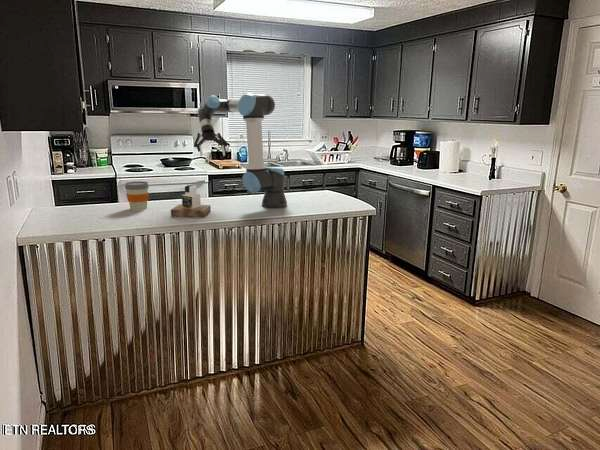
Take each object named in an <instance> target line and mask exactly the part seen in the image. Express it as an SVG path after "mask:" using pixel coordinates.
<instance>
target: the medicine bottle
mask: <svg viewBox="0 0 600 450" xmlns="http://www.w3.org/2000/svg"><path fill="white" fill-rule="evenodd" d="M197 190H198V189H197V186H196V185H194V184H192V185H191V184H189V185H188V184H187V185H186V186H184V193H185V194H181V200H182V201H181V203H182V207H183V208H189V209H194V208H198V207H201V205H202V204H201V203H202V202H201V194H200V193H197Z"/></svg>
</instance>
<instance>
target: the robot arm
mask: <svg viewBox="0 0 600 450" xmlns="http://www.w3.org/2000/svg"><path fill="white" fill-rule="evenodd" d="M275 107H276V103H275V100H274V98H273V97H272V96H270V95H269V94H264V93H263V94H260V93H245V94H242V95H241V96H240V98H239V99H220V98H219V97H218V96H216V95H210V96H209V97H208V98H207V99H206V101H205V103H204V105H202V106H201V107H199V108H198V109H197V117H198V120H199V125H200V131H201V133H199V132H197V135H196V139H195V141H194V143H193V147H194V148H196V149H197V152H199V154H200V157H201V158H202V157H203V149H202V145H203V144H204V143H205V142H206V141H209V142H210V141H211V142H212V141H213V142H215V143H217V144H218V145H219V146H220V147H221V152H222V155H223V157H225V156H226V151H227V150H226V149H227V148H226V147H228V142H227V141H226V140H225V138H224V137H223V136H222V134H221V133H220V132H217V133H215V129H214V125H213V120H212V118H213V116H214V114H215V113H239V115H241V116H242V119H243V120H244V122H245V126H246V127H245V128H246V140H247V141H246V142H247V158H248V159H247V160H248V161H247V162H248V166H247V167H246V168H245V171H246V172H244V174H243V175H242V184H243V186H244V188H245V189H246V190H247V191H249V192H252V193H255V192H256V193H257V192H263V191H264V194H263V198H262V201H261V206H262V207H264V208H271V209H279V208H285V207H287V206H288V202H287V197H286V195H285V170H284V169H283V168H280V167H273V166H266V165H265V164H264V162H265V161H264V146H263V145H264V144H263V143H264V142H263V128H262V127H263V125H262V124H263V123H262V122H263V121H264V119H265V116H269V115H271V114H273V112H274V110H275V109H276V108H275ZM200 138H202V139H201V140H200ZM199 140H200V141H199Z"/></svg>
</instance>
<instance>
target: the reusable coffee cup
mask: <svg viewBox="0 0 600 450" xmlns="http://www.w3.org/2000/svg"><path fill="white" fill-rule="evenodd" d="M124 186H125V191H126V193H125V195H126V198H127V202H128V204H129V209H130V210H131V211H135V210H139V211H143V210H144V211H145V210H147V208H148V201H149V189H150V187H149V183H148V182H147V181H138V180H137V181H127V182H126V183H125V184H124Z"/></svg>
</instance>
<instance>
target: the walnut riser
mask: <svg viewBox="0 0 600 450" xmlns="http://www.w3.org/2000/svg"><path fill="white" fill-rule="evenodd" d="M211 208H212V207H211V205H210V204H201V207H198V208H194V209H189V208H183V207H182V204H177V205H176V206H174V207H173V208H171V209H170V218H188V219H189V218H190V219H192V218H193V219H197V218H198V219H205V218H206V217H207V216H208V215H209V214H210V213H211V212H212V209H211Z"/></svg>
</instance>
